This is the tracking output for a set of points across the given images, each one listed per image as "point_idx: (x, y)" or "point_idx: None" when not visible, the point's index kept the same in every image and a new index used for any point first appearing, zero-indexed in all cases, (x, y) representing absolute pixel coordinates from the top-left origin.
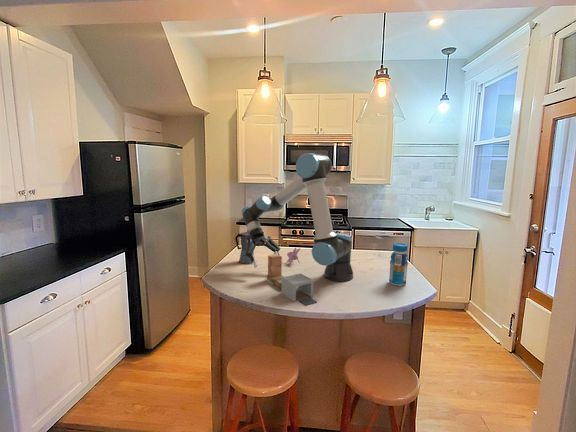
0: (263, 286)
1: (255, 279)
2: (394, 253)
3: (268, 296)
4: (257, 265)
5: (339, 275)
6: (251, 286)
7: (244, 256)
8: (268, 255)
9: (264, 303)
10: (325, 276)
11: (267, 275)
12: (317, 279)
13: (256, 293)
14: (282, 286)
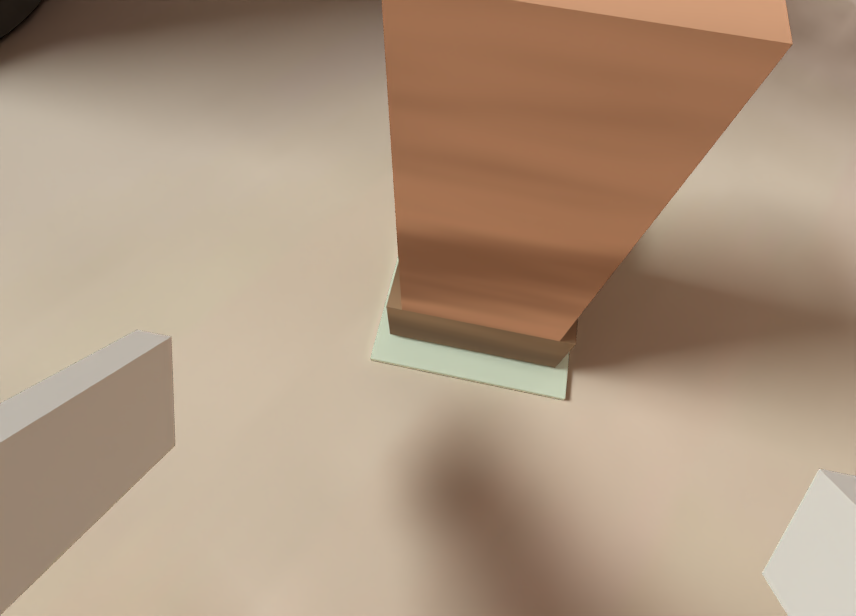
0: (700, 243)
1: (685, 502)
2: None
3: None
4: (817, 481)
5: None
6: (834, 328)
7: None
8: (781, 28)
9: (844, 14)
10: (4, 22)
11: (573, 333)
12: (113, 50)
13: (843, 163)
14: None
